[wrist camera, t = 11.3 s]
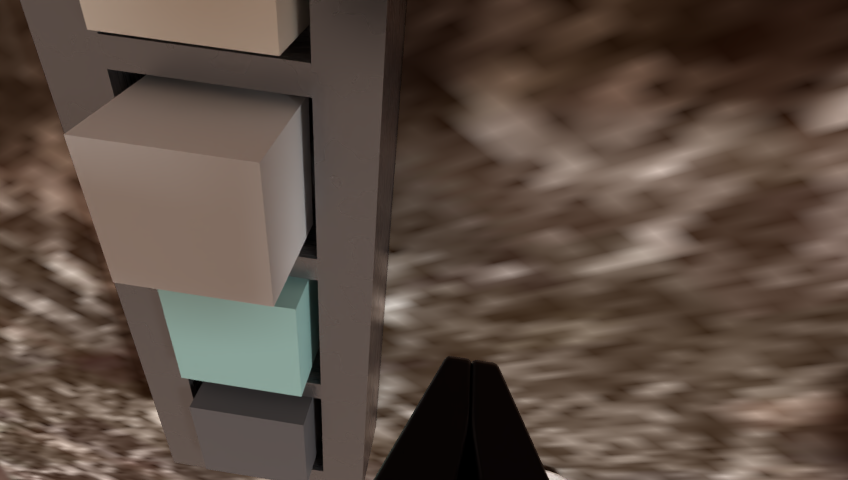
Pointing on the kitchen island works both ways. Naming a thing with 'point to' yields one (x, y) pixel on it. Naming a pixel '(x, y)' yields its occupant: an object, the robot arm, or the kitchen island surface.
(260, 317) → the key teal
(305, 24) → the key ivory
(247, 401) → the key black
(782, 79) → the kitchen island surface
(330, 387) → the key panel
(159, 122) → the key grey
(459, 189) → the kitchen island surface
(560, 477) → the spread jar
